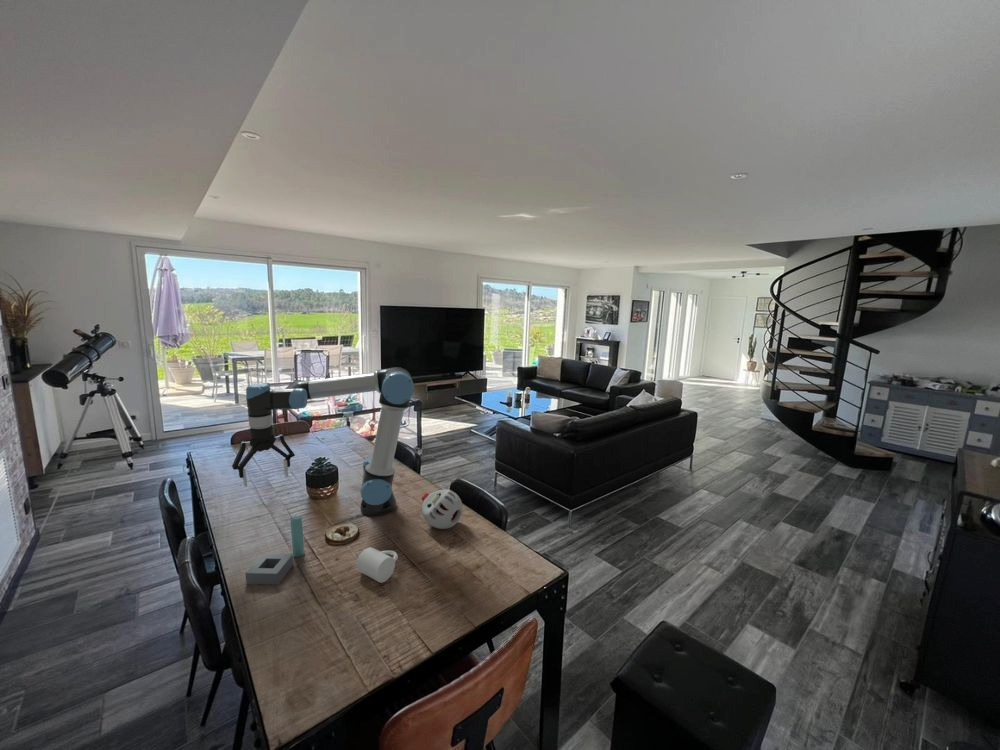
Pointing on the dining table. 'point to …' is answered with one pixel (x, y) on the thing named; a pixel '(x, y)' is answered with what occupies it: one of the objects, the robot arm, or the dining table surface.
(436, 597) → the dining table surface
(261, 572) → the socket
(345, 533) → the round brown cream disc
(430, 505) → the decorative object
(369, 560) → the mug
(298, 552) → the peg
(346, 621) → the dining table surface
